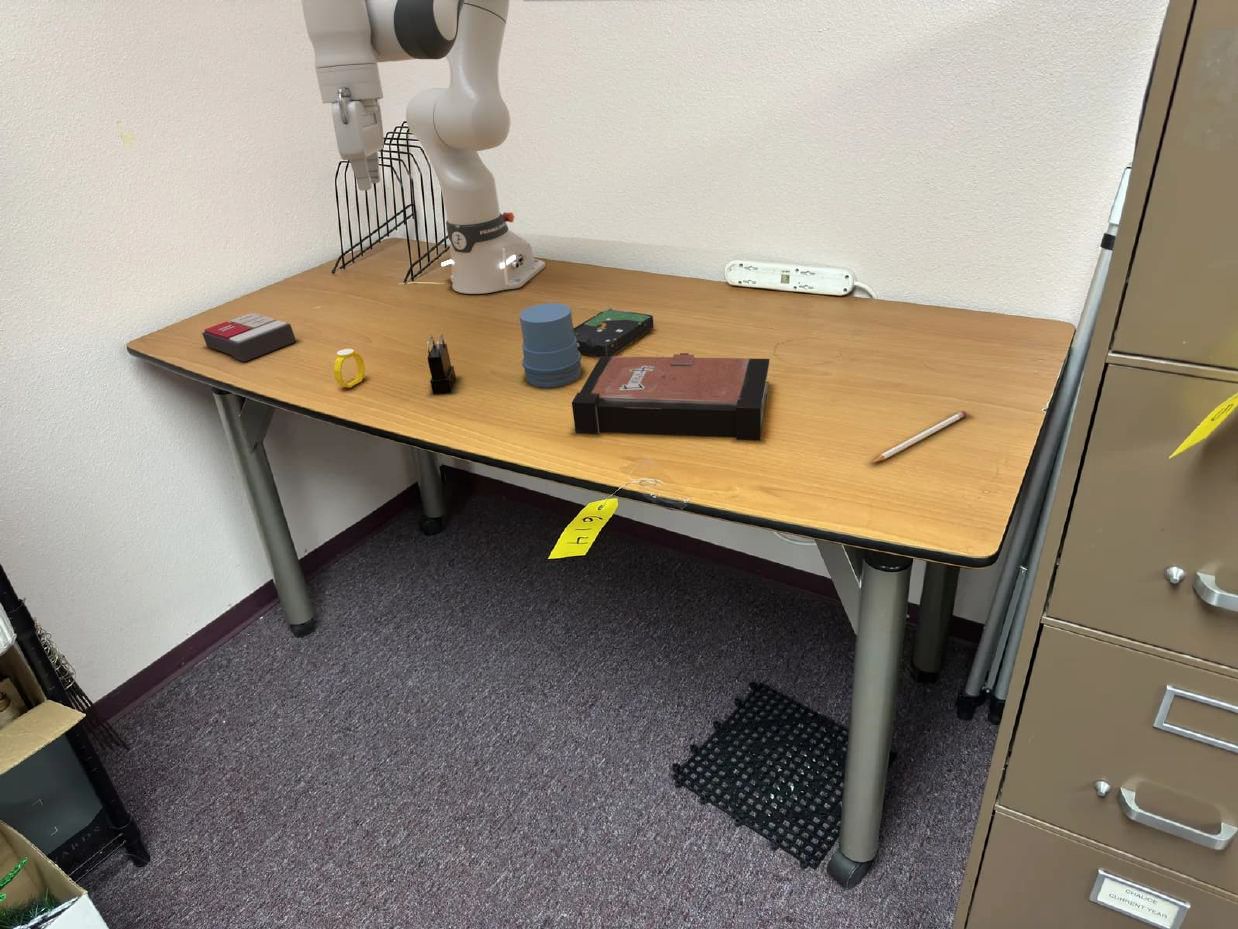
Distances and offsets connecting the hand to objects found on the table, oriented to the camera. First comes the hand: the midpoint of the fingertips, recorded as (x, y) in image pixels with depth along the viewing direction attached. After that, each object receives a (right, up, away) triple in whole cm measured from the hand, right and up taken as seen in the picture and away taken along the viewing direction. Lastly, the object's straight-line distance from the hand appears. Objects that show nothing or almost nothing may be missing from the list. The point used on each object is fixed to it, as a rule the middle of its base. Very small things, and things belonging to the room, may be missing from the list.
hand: (370, 186), depth 127 cm
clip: (+10, -30, +8) cm, 33 cm away
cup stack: (+28, -28, +8) cm, 41 cm away
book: (+47, -35, -5) cm, 59 cm away
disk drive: (+37, -21, +19) cm, 46 cm away
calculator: (-33, -20, +32) cm, 50 cm away
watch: (-6, -30, +12) cm, 33 cm away
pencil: (+78, -40, -18) cm, 90 cm away
